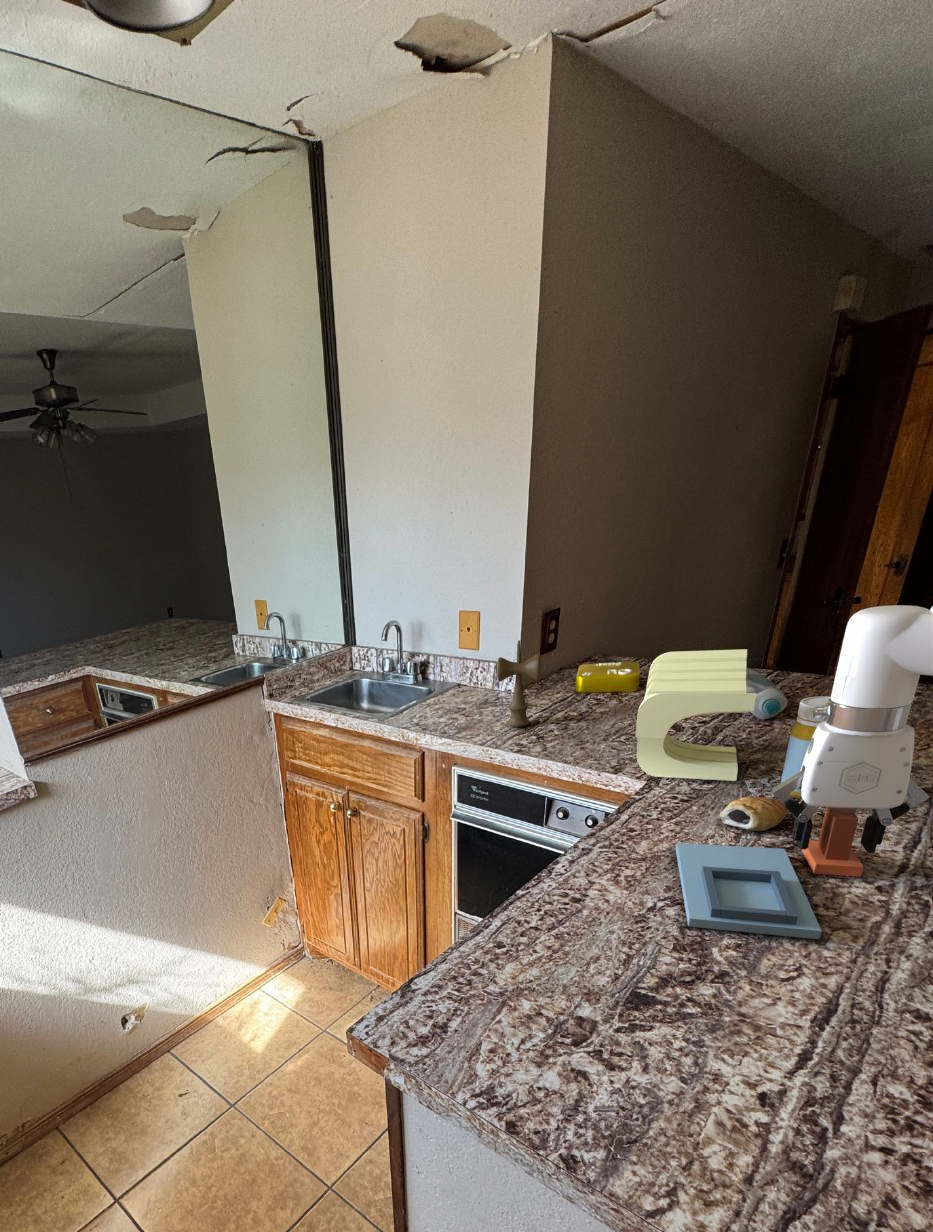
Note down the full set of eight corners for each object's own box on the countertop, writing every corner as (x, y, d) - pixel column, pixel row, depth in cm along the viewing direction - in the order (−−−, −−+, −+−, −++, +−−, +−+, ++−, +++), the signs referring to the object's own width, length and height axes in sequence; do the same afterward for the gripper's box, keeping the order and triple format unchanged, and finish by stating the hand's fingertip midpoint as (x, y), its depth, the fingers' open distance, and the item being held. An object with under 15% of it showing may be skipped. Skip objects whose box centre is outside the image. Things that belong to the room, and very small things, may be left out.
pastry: (755, 805, 104) (760, 783, 102) (800, 819, 98) (805, 796, 96) (714, 821, 101) (718, 799, 99) (757, 837, 95) (762, 814, 93)
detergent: (702, 694, 156) (729, 724, 135) (709, 664, 153) (737, 690, 132) (765, 695, 152) (803, 726, 131) (774, 665, 149) (813, 691, 128)
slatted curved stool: (642, 737, 136) (651, 652, 129) (732, 740, 129) (747, 649, 121) (630, 793, 114) (639, 693, 106) (738, 800, 106) (756, 692, 98)
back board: (783, 856, 90) (786, 840, 89) (819, 939, 74) (824, 922, 72) (675, 850, 95) (677, 835, 94) (688, 926, 79) (690, 910, 78)
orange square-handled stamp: (845, 851, 89) (858, 801, 85) (861, 877, 83) (875, 824, 80) (800, 849, 91) (811, 800, 87) (813, 873, 85) (825, 822, 82)
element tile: (638, 677, 177) (639, 659, 175) (638, 692, 165) (640, 673, 163) (578, 679, 184) (579, 662, 181) (575, 693, 172) (575, 675, 170)
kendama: (539, 728, 151) (541, 641, 142) (496, 730, 154) (495, 644, 145) (540, 720, 156) (542, 635, 147) (498, 722, 159) (497, 639, 150)
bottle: (778, 798, 105) (796, 707, 98) (780, 782, 110) (797, 695, 103) (833, 803, 101) (855, 709, 94) (832, 786, 106) (854, 696, 99)
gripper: (785, 725, 78) (760, 855, 86) (976, 723, 71) (929, 865, 79) (773, 707, 84) (750, 830, 92) (948, 704, 77) (907, 837, 85)
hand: (833, 845), depth 86 cm, fingers open, 6 cm apart
